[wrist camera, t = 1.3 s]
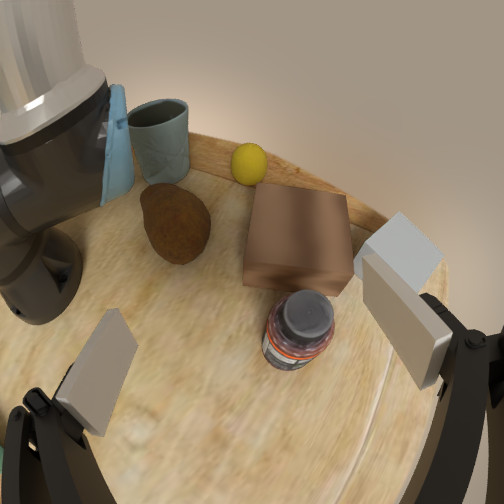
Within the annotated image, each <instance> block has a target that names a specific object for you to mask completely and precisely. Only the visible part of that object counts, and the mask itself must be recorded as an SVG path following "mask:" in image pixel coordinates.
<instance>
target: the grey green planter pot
mask: <svg viewBox="0 0 504 504" xmlns="http://www.w3.org/2000/svg"><path fill="white" fill-rule="evenodd" d="M127 119H128V127H129V134H130V141H131V144H132V146H133V149H134V150H135V155H136V158H137V160H138V163H139V164H140V168H141V171H142V174H143V177H144V179H145V180H146V181H147V182H148V183H149V184H151V185H153V184H156V183H170V184H174V183H176V182H178V181H180V180H181V179H183V178H184V177H185V176H186V175H187V173H188V172H189V168H190V159H189V145H188V144H189V141H188V137H189V135H188V106H187V104H186V102H184V101H182V100H178V99H160V100H155V101H151V102H148V103H145V104H143V105H140V106H138V107H137V108H135V109H133V110H132V111H130V112H129V113H128V114H127Z"/></svg>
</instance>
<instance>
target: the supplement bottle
mask: <svg viewBox="0 0 504 504" xmlns="http://www.w3.org/2000/svg"><path fill="white" fill-rule="evenodd" d="M334 330H335V322H334V312H333V308H332V305H331V303H330V301H329V300H328V299H327V298H326V297H325V296H324V295H323V294H321V293H319V292H317V291H314V290H309V289H307V290H300V291H297V292H295V293H293V294H289V295H287V296H285V297H283V298H281V299H280V300H279V301H278V302H277V303H276V304H275V305H274V306H273V307H272V309H271V311H270V314H269V317H268V319H267V324H266V328H265V332H264V335H263V337H262V338H263V339H262V351H263V354H264V357H265V358H266V360H267V361H268V362H269V363H270V364H271V365H272V366H274V367H275V368H277V369H280V370H284V371H292V370H296V369H299V368H301V367H303V366H305V365H306V364H307V363H309V362H310V361H311V360H312V359H314V358H315V357H316V356H317V355H319V354H320V353H321V352H322V351H323V350H325V349H326V347H327V346H328V345H329V343H330V342H331V340H332V338H333V335H334Z"/></svg>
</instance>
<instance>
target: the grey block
mask: <svg viewBox="0 0 504 504" xmlns="http://www.w3.org/2000/svg"><path fill="white" fill-rule="evenodd" d="M373 253H376V254H377V255H378V256H379V257H380V258H381V259H382V260H383V261H384V262H385V263H386V264H387V265H389V266H390V267H391V268H392V269H393V270H394V271H395V272H396V273H397V274H398V275H399V276H400V277H401V278H402V279H403V280H404V281H405V282H406V283H407V284H408V285H409V286H410V287H411V288H412V289H413V290H414V291H415V292H416V293H417V294H418V292H419V291H420V290H421V288H422V287H423V286H424V284H425V283H426V281H427V280H428V278H429V277H430V276H431V274H432V273H433V271H434V270H435V268H436V267H437V265H438V264H439V262H440V261H441V259H442V258H443V256H444V254H443V253H442V252H441V251H440V250H439V249H438V248H437V247H436V246H435V245H434V244H433V243H432V242H431V241H430V240H429V239H428V238H427V237H426V236H425V235H424V234H423V233H422V232H421V231H420V230H419V229H418V228H417V227H416V226H415V225H414V224H412V223H411V222H410V221H409V220H408V219H407V218H406V217H405V216H404V215H403V214H401V213H400V212H398V213H397V214H396V215H395V216H393V217H392V218H391V219H390V220H389V221H388V222H387V223H386V224H384V225H383V226H382V227H381V228H380V229H379V230H378V231H377V232H375V233H374V234H373V235H372V236H371V237H370V238H369V239H367V240H366V241H365V242H364V244H363V246H362V247H361V249H360V251H359V252H358V254H357V255H356V257H355V259H354V260H353V262H354V273H355V274H356V275H357V276H358V277H359V278H360V279H361V280H362V281H363V269H362V256H365V255H369V254H373Z"/></svg>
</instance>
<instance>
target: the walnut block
mask: <svg viewBox="0 0 504 504" xmlns="http://www.w3.org/2000/svg"><path fill="white" fill-rule="evenodd" d="M353 275H354V262H353V251H352V241H351V232H350V223H349V215H348V208H347V201H346V195H341V194H335V193H329V192H323V191H317V190H310V189H304V188H297V187H290V186H282V185H275V184H267V183H258V182H257V185H256V191H255V197H254V202H253V208H252V214H251V220H250V225H249V231H248V237H247V243H246V249H245V255H244V265H243V286H250V287H257V288H265V289H273V290H281V291H290V292H297V291H300V290H307V289H309V290H314V291H317V292H319V293H321V294H323V295H326V296H335V297H338V296H339V294H340V293H341V292H342V290H343V289H344V288H345V286H346V285H347V283H348V282H349V281H350V279H351V278H352V276H353Z"/></svg>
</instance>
